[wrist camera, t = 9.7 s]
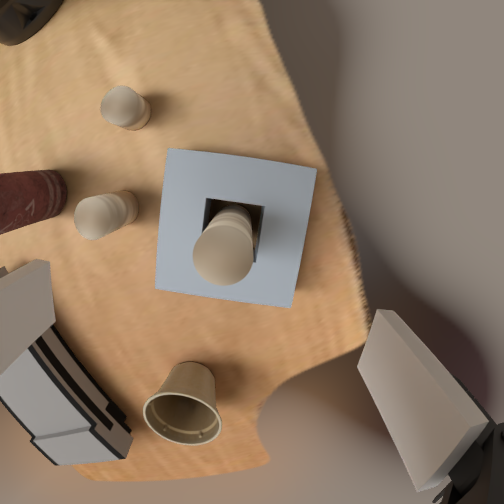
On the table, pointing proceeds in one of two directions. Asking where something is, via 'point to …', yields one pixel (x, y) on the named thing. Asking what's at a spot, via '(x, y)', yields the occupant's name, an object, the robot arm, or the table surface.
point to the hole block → (237, 190)
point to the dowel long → (225, 247)
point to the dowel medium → (105, 214)
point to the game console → (63, 404)
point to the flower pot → (185, 406)
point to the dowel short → (125, 108)
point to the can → (30, 198)
